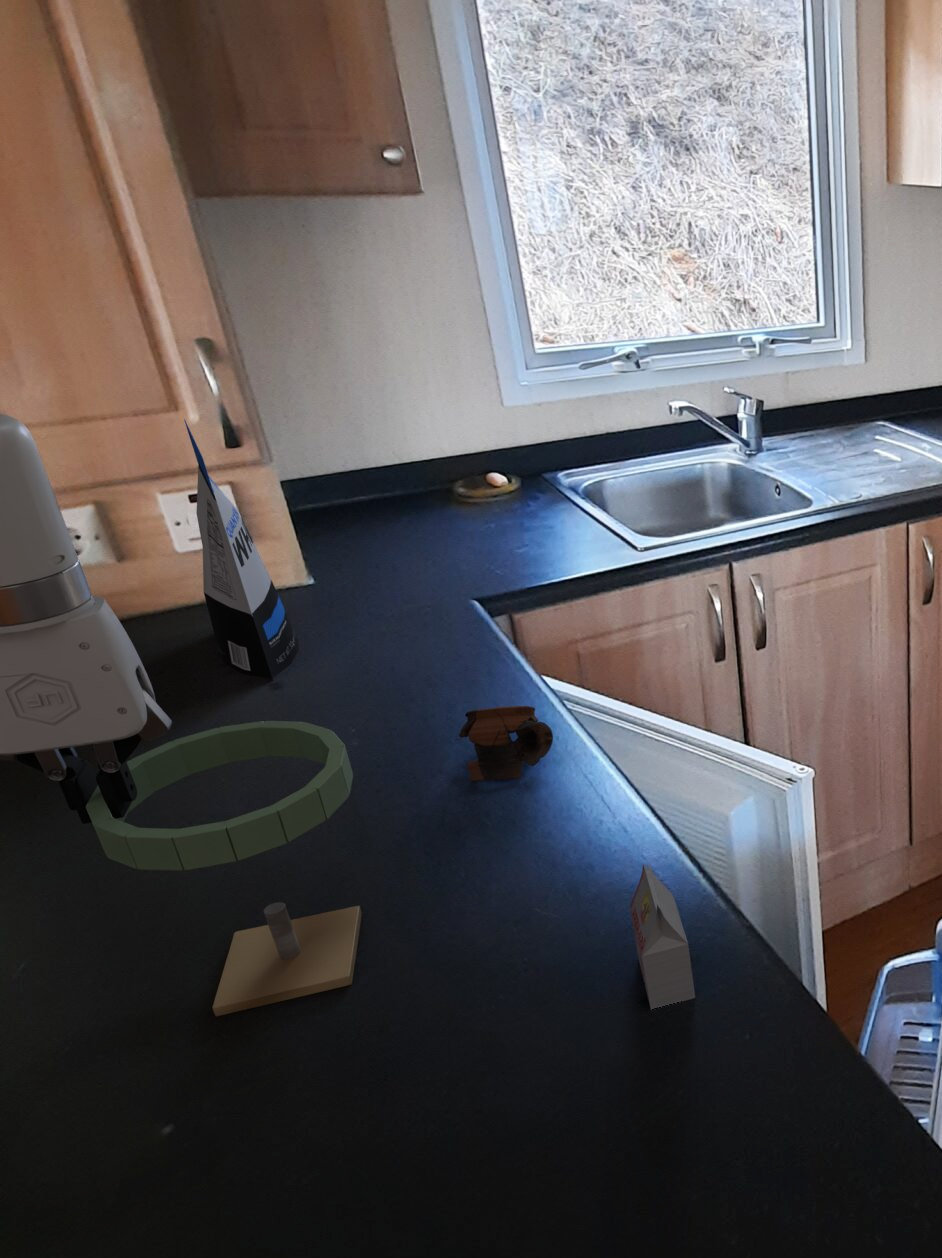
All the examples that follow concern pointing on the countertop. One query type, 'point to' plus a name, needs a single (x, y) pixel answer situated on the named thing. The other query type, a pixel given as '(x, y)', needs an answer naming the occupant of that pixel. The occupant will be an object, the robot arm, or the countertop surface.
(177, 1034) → the countertop surface
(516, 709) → the pottery mug
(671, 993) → the gable top carton
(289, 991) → the stand
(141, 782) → the hoop
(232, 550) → the protein powder
